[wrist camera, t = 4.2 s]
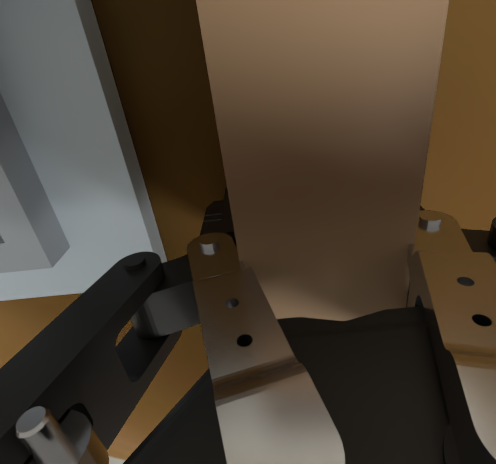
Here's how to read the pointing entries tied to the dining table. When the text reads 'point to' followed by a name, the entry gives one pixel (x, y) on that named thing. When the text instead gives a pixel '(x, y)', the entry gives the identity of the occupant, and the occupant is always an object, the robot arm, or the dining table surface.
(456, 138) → the dining table surface
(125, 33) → the dining table surface
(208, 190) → the dining table surface
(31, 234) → the jig
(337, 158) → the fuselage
